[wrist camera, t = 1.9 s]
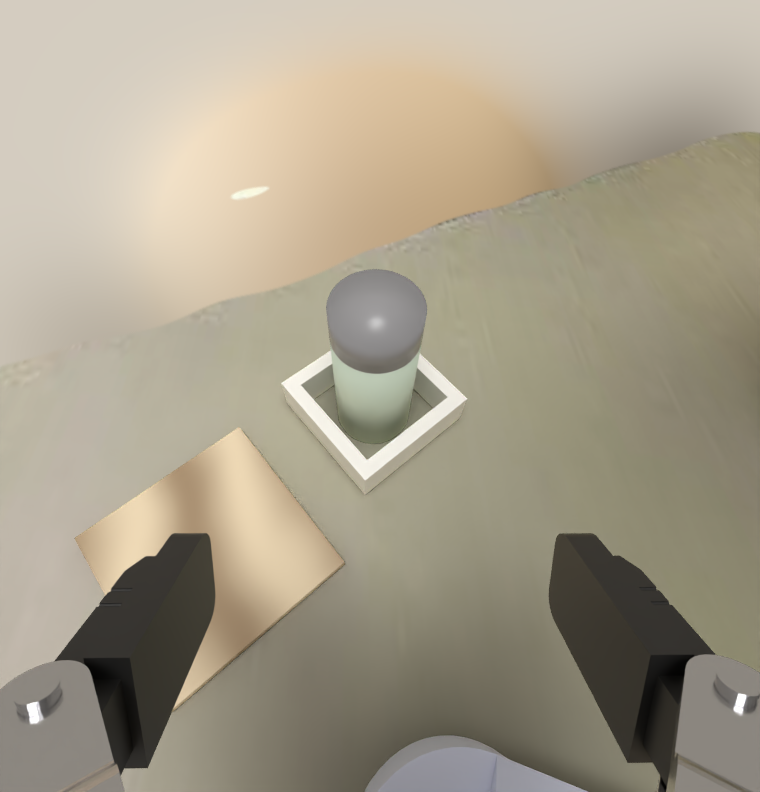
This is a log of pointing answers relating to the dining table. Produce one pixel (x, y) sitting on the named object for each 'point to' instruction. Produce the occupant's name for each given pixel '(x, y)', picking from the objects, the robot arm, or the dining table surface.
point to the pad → (222, 545)
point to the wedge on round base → (459, 770)
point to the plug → (375, 351)
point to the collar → (395, 453)
